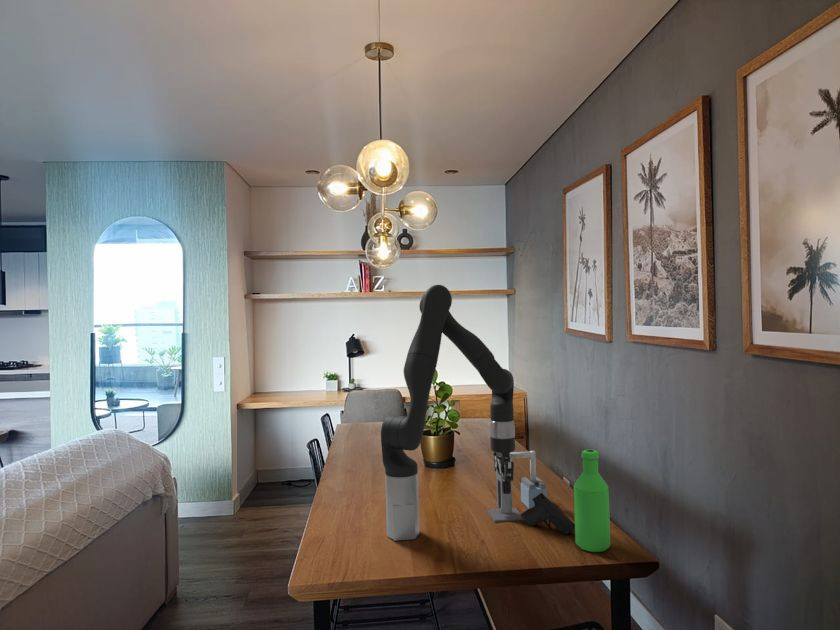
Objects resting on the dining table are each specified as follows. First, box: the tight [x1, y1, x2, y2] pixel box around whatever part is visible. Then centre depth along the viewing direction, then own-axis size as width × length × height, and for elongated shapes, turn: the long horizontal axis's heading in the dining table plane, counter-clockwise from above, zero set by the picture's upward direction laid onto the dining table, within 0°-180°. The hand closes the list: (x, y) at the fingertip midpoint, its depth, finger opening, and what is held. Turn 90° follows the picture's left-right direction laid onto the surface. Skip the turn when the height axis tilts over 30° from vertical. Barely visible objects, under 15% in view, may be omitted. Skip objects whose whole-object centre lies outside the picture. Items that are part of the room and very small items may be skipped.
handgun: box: [520, 493, 575, 536], centre depth 156 cm, size 3×14×10 cm
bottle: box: [573, 449, 611, 553], centre depth 143 cm, size 9×9×25 cm
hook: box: [496, 471, 513, 513], centre depth 167 cm, size 5×3×11 cm, turn 8°
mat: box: [486, 507, 525, 523], centre depth 166 cm, size 9×9×1 cm
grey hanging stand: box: [509, 450, 548, 510], centre depth 176 cm, size 8×13×19 cm, turn 98°
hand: (504, 490), depth 167 cm, fingers closed on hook, 5 cm apart
